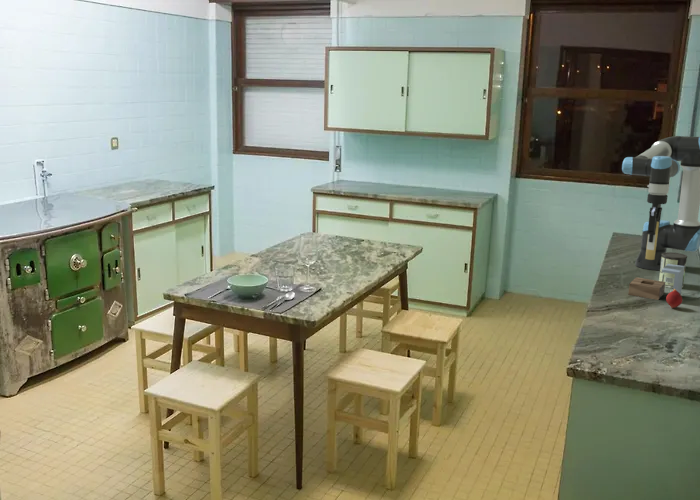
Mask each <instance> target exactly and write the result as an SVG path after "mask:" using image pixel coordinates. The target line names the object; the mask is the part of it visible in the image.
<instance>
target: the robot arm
mask: <svg viewBox="0 0 700 500" xmlns="http://www.w3.org/2000/svg"><path fill="white" fill-rule="evenodd" d="M679 162H680V163H679ZM681 168H682V169H683V171H682V178H681V188H680V197H679V204H678V212H677V219H675V220H674V221H673V224H672V223H671V222H670V220H666V219H665V220H664V219H661V218H662V211H663V207H662V205H666V204H667V203H668V194H669V187H670V179H671V178H673V177H675V176H676V175H678V174H679V172H680V171H681ZM621 171H622V173H623V174H624V175H625V174H626V175H630V176H632V175H633V176H645V177H649V181H648V182H649V184H647V188H648V191H647V192H648V194H647V200H646V202H647V203H648V204H652V205H651V207H650V208H649V212H648V213H649V214H648V216H649V218H648V221H645V222H644V223H643V226H642V227H643V228H642V230H641V231H642V234H641V235H642V236H641V244H640V251H639V253H638V255H637V257H636V259H635V263H634V264H635V265H634V266H636V267H637V268H640V269H643V270H644V269H645V270H651V271H660V268H661V259H662V253H667V249H672V250H679V251H685V252H693V253H694V252H697V251H698V249H699V248H700V221H699V212H700V136H688V135H687V136H686V135H685V136H682V135H681V136H680V135H674V136H669V137H665V138H662V139H659V140H657V141H655V142H654V143H653V144H652V145H651V147H650V148H648V149H646V150H645V151H644V152H642V153H640V154H639V155H637V156H635V157H633V156H627V157H625V158H624V159H623V161H622V164H621ZM657 222H659V227H658V235H657V243H656V251H655V259H654V260H648V259H645V257H646V248H647V249H649V250H654V245H655V236H656V235H655V231H656V225H657ZM647 240H648V242H647Z"/></svg>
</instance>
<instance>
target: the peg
mask: <svg viewBox="0 0 700 500" xmlns="http://www.w3.org/2000/svg"><path fill="white" fill-rule="evenodd" d="M658 227H659V222H657V225H656V231H655V235H656V236H655V245H654V250H649V249H647V248H646V257H645V259H648V260H654V259H655V251H656V243H657V235H658ZM647 242H648V240H647Z"/></svg>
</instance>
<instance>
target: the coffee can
mask: <svg viewBox="0 0 700 500" xmlns="http://www.w3.org/2000/svg"><path fill="white" fill-rule="evenodd" d="M687 260H688V256H687V254H683V253H679V252H671V251H670V252H667V251H666V253H662V259H661V268H660V270H659V278H658V281H662V282H665V288H669V289H673V286H674V278H675V274H671V273H665V272H662V269H663V268H664V267H665V266H666V265H667V264H673V265H680V266H685V267H684V275H683V283H682V288H684V283H685V274H686V266H687Z"/></svg>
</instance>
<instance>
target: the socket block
mask: <svg viewBox="0 0 700 500" xmlns="http://www.w3.org/2000/svg"><path fill="white" fill-rule="evenodd" d="M665 288H666V287H665V282H662V281H659V280H655V279H650V278H649V279H648V278H642V277H635V278H634V279H633V280H632V281H631V282H630V283H629V285H628V293H627V294H628V296H633V297H638V296H639V297H641V298H646V299H652V300H657V301H659V299H661V297H662V296H663V295H664V294H665ZM639 297H638V298H639Z"/></svg>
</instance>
